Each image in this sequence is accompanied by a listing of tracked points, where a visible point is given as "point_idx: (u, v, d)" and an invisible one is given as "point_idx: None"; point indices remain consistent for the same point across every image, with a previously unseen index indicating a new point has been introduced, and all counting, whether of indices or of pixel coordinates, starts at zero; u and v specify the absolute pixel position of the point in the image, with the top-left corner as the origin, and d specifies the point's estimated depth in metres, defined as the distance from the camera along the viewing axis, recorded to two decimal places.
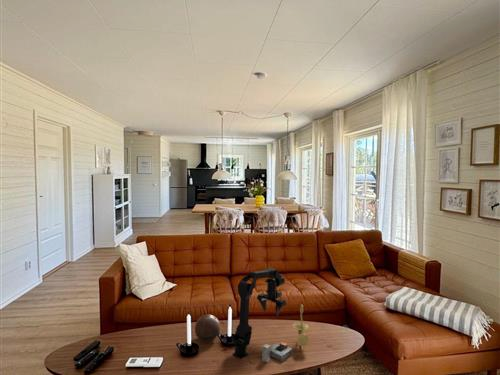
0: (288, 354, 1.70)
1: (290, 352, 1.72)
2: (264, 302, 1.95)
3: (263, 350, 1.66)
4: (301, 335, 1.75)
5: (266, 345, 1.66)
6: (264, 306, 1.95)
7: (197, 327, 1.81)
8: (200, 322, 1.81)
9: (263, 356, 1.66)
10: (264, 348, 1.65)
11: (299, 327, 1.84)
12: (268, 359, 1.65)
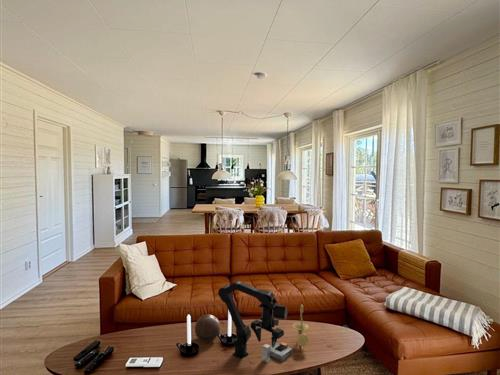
0: (288, 354, 1.70)
1: (290, 352, 1.72)
2: (259, 331, 1.69)
3: (263, 350, 1.66)
4: (301, 335, 1.75)
5: (266, 345, 1.66)
6: (259, 335, 1.69)
7: (197, 327, 1.81)
8: (200, 322, 1.81)
9: (263, 356, 1.66)
10: (264, 348, 1.65)
11: (299, 327, 1.84)
12: (268, 359, 1.65)
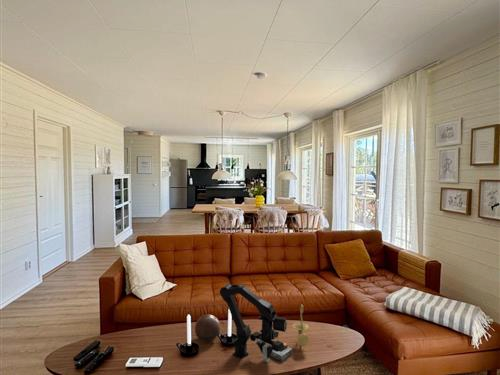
0: (288, 354, 1.70)
1: (290, 352, 1.72)
2: None
3: (263, 350, 1.66)
4: (301, 335, 1.75)
5: (266, 345, 1.66)
6: None
7: (197, 327, 1.81)
8: (200, 322, 1.81)
9: (263, 356, 1.66)
10: (264, 348, 1.65)
11: (299, 327, 1.84)
12: (268, 359, 1.65)
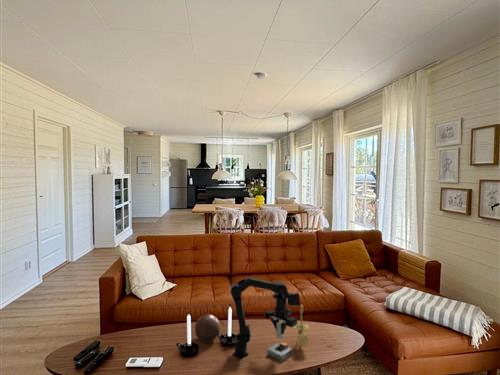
0: (288, 354, 1.70)
1: (290, 352, 1.72)
2: None
3: (277, 327, 1.72)
4: (301, 335, 1.75)
5: (280, 322, 1.73)
6: None
7: (197, 327, 1.81)
8: (200, 322, 1.81)
9: (277, 332, 1.72)
10: (278, 325, 1.71)
11: (299, 327, 1.84)
12: (282, 335, 1.71)
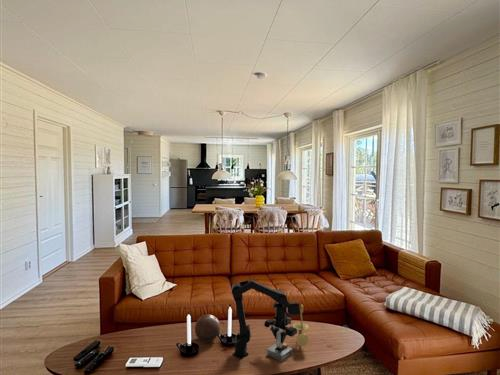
0: (288, 354, 1.70)
1: (290, 352, 1.72)
2: (276, 331, 1.74)
3: (276, 336, 1.72)
4: (301, 335, 1.75)
5: (280, 331, 1.73)
6: None
7: (197, 327, 1.81)
8: (200, 322, 1.81)
9: (277, 341, 1.72)
10: (278, 334, 1.71)
11: (299, 327, 1.84)
12: (281, 344, 1.71)
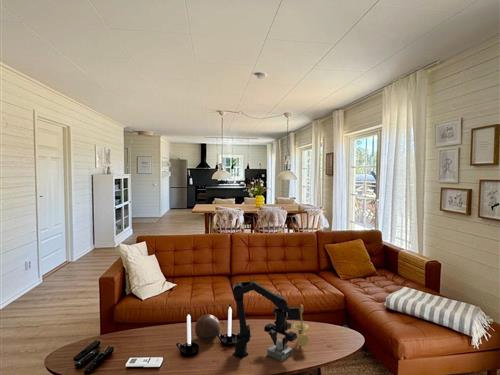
0: (288, 354, 1.70)
1: (290, 352, 1.72)
2: (275, 335, 1.74)
3: (276, 344, 1.72)
4: (301, 335, 1.75)
5: (280, 339, 1.73)
6: (275, 339, 1.74)
7: (197, 327, 1.81)
8: (200, 322, 1.81)
9: (277, 350, 1.72)
10: (278, 342, 1.71)
11: (299, 327, 1.84)
12: None
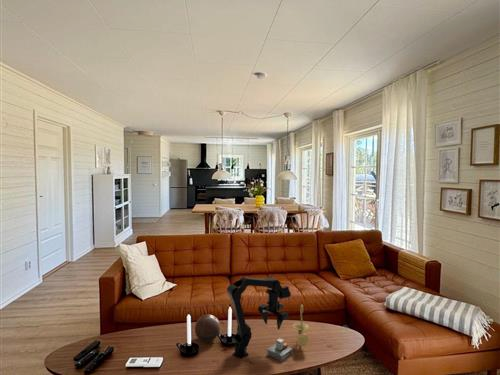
0: (288, 354, 1.70)
1: (290, 352, 1.72)
2: (265, 314, 1.83)
3: (276, 344, 1.72)
4: (301, 335, 1.75)
5: (280, 339, 1.73)
6: (265, 318, 1.83)
7: (197, 327, 1.81)
8: (200, 322, 1.81)
9: (277, 350, 1.72)
10: (278, 342, 1.71)
11: (299, 327, 1.84)
12: None
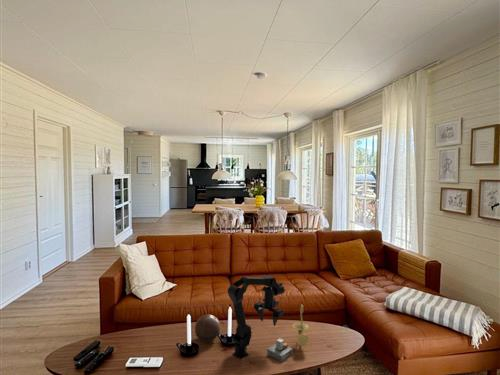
0: (288, 354, 1.70)
1: (290, 352, 1.72)
2: (261, 311, 1.87)
3: (276, 344, 1.72)
4: (301, 335, 1.75)
5: (280, 339, 1.73)
6: (261, 315, 1.86)
7: (197, 327, 1.81)
8: (200, 322, 1.81)
9: (277, 350, 1.72)
10: (278, 342, 1.71)
11: (299, 327, 1.84)
12: None
